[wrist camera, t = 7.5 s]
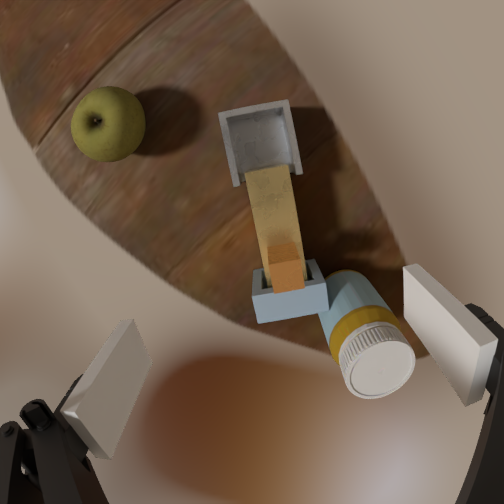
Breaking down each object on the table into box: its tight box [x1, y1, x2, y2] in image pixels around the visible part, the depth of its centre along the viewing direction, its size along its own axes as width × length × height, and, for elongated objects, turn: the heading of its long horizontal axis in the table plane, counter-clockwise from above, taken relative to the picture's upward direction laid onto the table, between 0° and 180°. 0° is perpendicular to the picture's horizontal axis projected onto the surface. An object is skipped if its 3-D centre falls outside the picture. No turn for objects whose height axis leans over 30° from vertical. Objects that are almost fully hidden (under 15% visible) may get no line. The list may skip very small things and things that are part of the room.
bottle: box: [318, 270, 415, 399], centre depth 30 cm, size 7×7×15 cm
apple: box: [71, 86, 146, 162], centre depth 29 cm, size 8×8×7 cm
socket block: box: [252, 259, 329, 324], centre depth 33 cm, size 3×7×7 cm, turn 102°
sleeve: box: [218, 100, 303, 187], centre depth 30 cm, size 7×6×5 cm
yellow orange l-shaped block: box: [244, 164, 308, 294], centre depth 30 cm, size 13×4×9 cm, turn 12°
